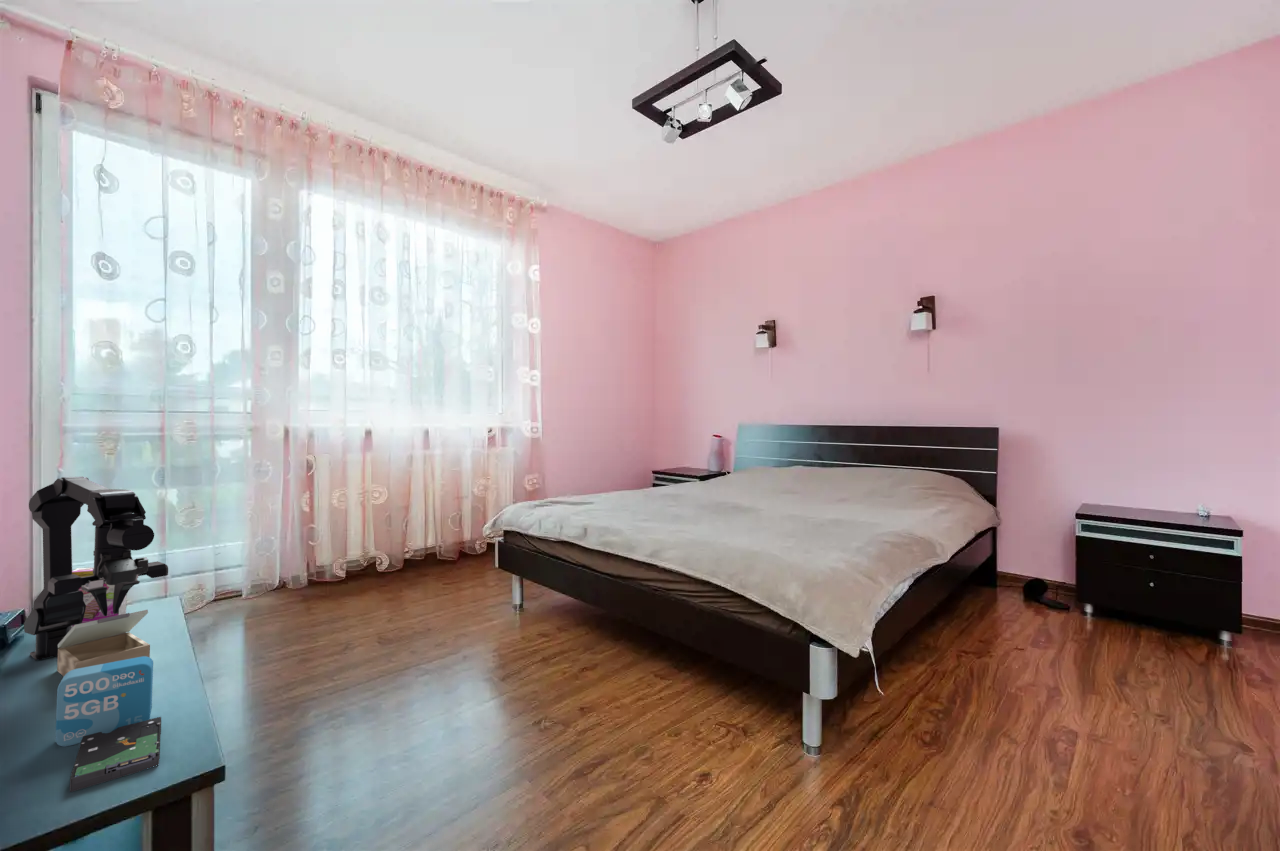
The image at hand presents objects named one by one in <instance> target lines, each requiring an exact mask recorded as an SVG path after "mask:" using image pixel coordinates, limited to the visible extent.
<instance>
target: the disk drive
mask: <svg viewBox="0 0 1280 851" xmlns="http://www.w3.org/2000/svg"><path fill="white" fill-rule="evenodd" d="M161 734H162V716H158V717H154V718H150V719H149V720H146V721H142V722H138V723H134V724H130V725H126V726H122V727H118V728H117V729H115V730H113V731H112V732H110V733H102V732H98V733H94V734H90V735H86V736H83V738H82V740H81V743H79V748H78V752H77V755H76V757H75V761H74V764H73V768H72V771H71V774H70V779H69V780H70V781H69V792H70V793H73V792H75V791H79V790H83V789H86V788H90V787H93V786H95V785H99V784H103V783H105V782H109V781H113V780H116V779H119V778H122V776H123V777H126V776H129V774H130V775H132V774H135V773H139V771H140V772H142V770H143V771H145V770H144V769H146V770H148V769H147V768H150V767H153V766H156V765H158V764H159V765H160V760H159V759H160V758H161V755H160V754H161ZM159 765H158V766H159ZM156 767H157V766H156ZM153 768H154V767H153ZM150 769H151V768H150ZM125 775H126V776H125Z"/></svg>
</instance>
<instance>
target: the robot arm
mask: <svg viewBox="0 0 1280 851" xmlns="http://www.w3.org/2000/svg"><path fill="white" fill-rule="evenodd" d="M84 505H86V506H87V512H88V513H89V514H90V515H91V516H92V518H93V519H94V520H93V522H92V523H91V525H92V526H94V527H95V528H94V550H93V560H94V561H93V567H94V569H93V574H94V575H92V576H86V577H79V576H77V575H75V574H72V570H73V554H72V550H73V548H72V545H73V544H72V526H73V524H74V523H75V522H76V521H77V519H78V518H79V517H80V515H81V512H82V511H81V510H82V507H83V506H84ZM28 510H29V512H31V518H32V520H33V521H34V522H35V523H36V525H38V526H39V527H40V528H41V530H42V562H43V563H42V564H43V565H42V566H43V568H42V569H43V589H42V590H41V592H40V593H39V594H38V596H37V597H36V598H35V599H34V600H33V607H32V608H33V609H32V610H31V612H30V613H29V615H28V616H27V617H26V620H25V621H24V622H23V630H24V633H25V634H29V635H32V636H35V648H34V649H35V651H31V652H29V655H30V656H31V657H32V659H34V660H35V661H41V660H45V659H49V658H54V657H58V649H59V648H58V644H59V643H60V641H61V640H62V639H63V638H64V637H65V636H66V634H67V633H68V632H69V631H70V630H71V626H73V625H77V624H81V623H82V621H83V618H84V614H85V609H86V604H85V602H84V600H83V596H84V594H83V592H82V591H78V589H80V588H81V589H82V590H84V591H86V592H90V593H91V594H92V595H93V597H94V598H95V600H96V602H97V604H98V606H99V608H100V610H101V612H102V614H103V615H104V616H107V611H108V608H107V598H106V591H107V587H105V586H104V582H106V584H108V585H115V586H114V598H113V613H114V614H117V612H118V610H119V608H120V606H121V604H122V602H123V600H124V598H125V596H126V594H127V595H128V592H129V591H130V590H131V589H132V588H134V586H135V585H139V584H140V583H141V582H140V580H138V578H139V577H140V576H141V577H143V576H148V577H149V578H150V579H155V578H160V577H166V576H168V575H169V566H168V565H167V564H166V563H163V562H161V561H159V560H158V561H152V562H149V559H148V556H147V557H146V556H145V557H144V556H143V557H138V558H135V559H133V557H132V551H140V550H143V549H146V548H147V547H149V546H150V545H151V544H152V542H153V541H154V538H155V532H154V531H153V528H152V527H150V526H149V525H146V524H144V521H145V520H146V518H147V517H146V512H147V511H146V510H145V507H144V506H143V504H142V503H141V501H140V499H139V496H138V495H137V494H136V493H135V491H133V490H130V489H119V488H118V489H115V488H113V489H111V488H108V487H105V486H103V485H101V484H98V483H97V482H94V481H92V480H90V479H89V477H86V476H62V477H60V478H57V479H55V480H54V482H53V483H51V484H49V485H46V486H44V487H42V488H40V489H37V490H36V492H35V493H34V494H33V495H32V496H31V498H30V499H29V501H28ZM99 578H101V579H99Z"/></svg>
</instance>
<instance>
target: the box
mask: <svg viewBox="0 0 1280 851" xmlns="http://www.w3.org/2000/svg"><path fill="white" fill-rule="evenodd" d="M142 656H146V657H150V656H151V644H149V643H147V642H146V641H145V640H143V639H142V638H140V637H138V636H136V635H134V634H133V633H131V632H130V631H129V632H126V633H123V634H119V635H115V636H110V637H106V638H102V639H98V640H93V641H89V642H85V643H80V644H76V645H72V646H68V647H63V648H59V649H58V656H57V664H56V671H57V672H58V673H59V674H61V675H62V677H64V676H65V674H66V673H68V672H69V671H71V670H74V669H78V668H83V667H89V666H94V665H99V664H105V663H110V662H115V661H121V660H126V659H131V658H137V657H142ZM150 658H151V657H150Z"/></svg>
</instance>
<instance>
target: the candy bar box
mask: <svg viewBox="0 0 1280 851" xmlns="http://www.w3.org/2000/svg"><path fill="white" fill-rule="evenodd" d="M93 569H94V566H93V567H91V566H90V567H89V566H88V567H77V568H73V569H72V574H75V575H77V576H79V577H86V576H92V575H94V574H93ZM99 579H101V578H99ZM104 586H105V587H107V591H106V598H107V608H108V611H107V616H104V615H103V614H102V612H101V610H100V608H99V606H98V604H97V602H96V600H95V598H94V597H93V595H92V594H91V593H90V592H86V591H84V590H82V589H81V588H80V589H78V591H82V592H83V594H84V596H83V600H84V602H85V604H86V609H85V614H84V618H83V621H82V623H86V622H91V621H96V620H99V619H102V618H107V617H112V616H117V615H122V614H126V613H127V601H128V597H127V596H128V593H127V594H126V596H125V598H124V600H123V602H122V604H121V606H120V608H119V610H118V612H117V614H114V613H113V598H114V586H115V585H108V584H106V582H104ZM73 626H74V625H73ZM73 626H71V629H72V627H73Z"/></svg>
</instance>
